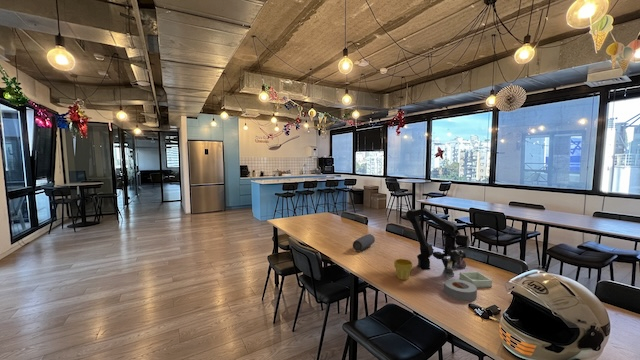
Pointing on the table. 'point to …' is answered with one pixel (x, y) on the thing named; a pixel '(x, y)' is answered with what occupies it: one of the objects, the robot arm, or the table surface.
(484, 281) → the bin
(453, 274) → the disc with square block
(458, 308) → the table surface
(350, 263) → the table surface
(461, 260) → the carburetor
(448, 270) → the brass cabinet knob
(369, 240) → the bluetooth speaker
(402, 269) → the plant pot
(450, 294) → the tape roll
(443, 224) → the robot arm
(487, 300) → the table surface
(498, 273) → the table surface
